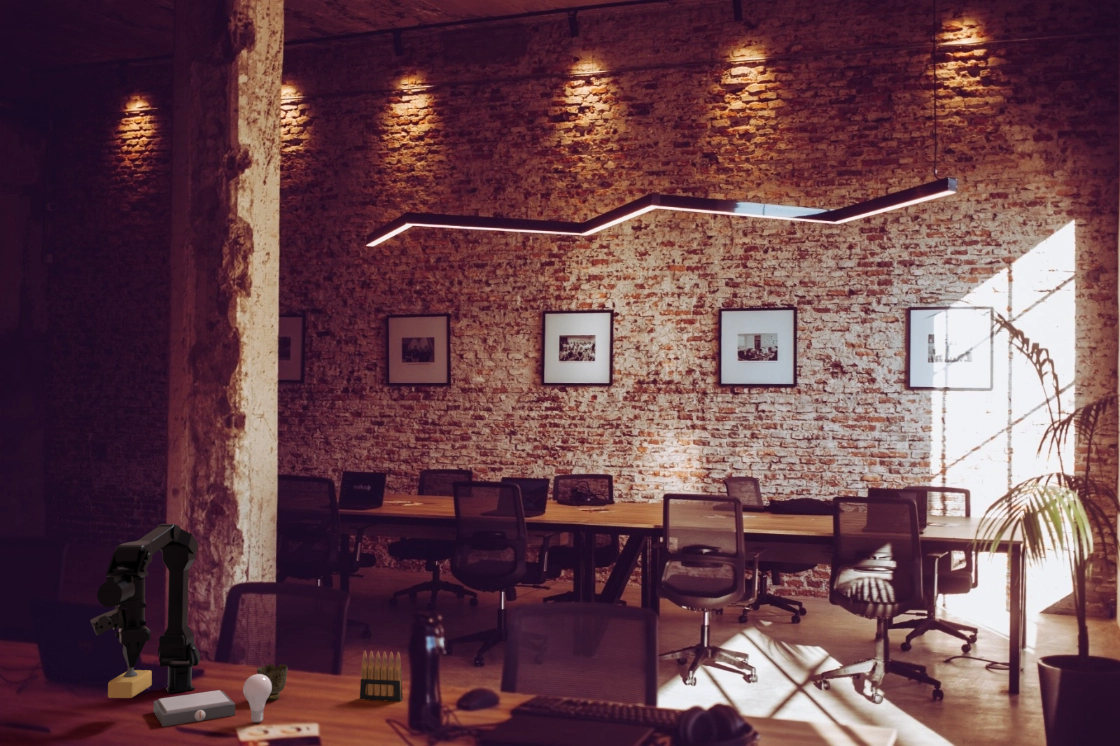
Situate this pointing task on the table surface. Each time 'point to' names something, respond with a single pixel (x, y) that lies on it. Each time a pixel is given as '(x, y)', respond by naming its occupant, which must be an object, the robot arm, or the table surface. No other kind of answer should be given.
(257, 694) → the lightbulb
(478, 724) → the table surface
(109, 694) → the rubber stamp
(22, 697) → the table surface
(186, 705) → the dial scale
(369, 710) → the table surface
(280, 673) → the cup
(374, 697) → the ammunition clip
